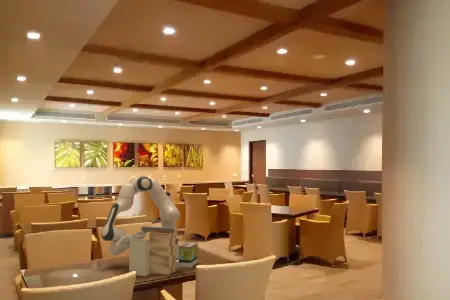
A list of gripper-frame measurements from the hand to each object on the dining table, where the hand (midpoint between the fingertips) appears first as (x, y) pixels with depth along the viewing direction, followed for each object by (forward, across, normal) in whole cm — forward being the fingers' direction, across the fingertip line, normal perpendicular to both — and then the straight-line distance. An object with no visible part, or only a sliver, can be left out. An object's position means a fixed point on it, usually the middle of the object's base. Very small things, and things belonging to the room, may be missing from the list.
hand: (143, 231), depth 273 cm
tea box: (+6, +23, +34) cm, 41 cm away
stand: (0, 0, +30) cm, 30 cm away
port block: (-10, -11, +24) cm, 28 cm away
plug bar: (+9, 0, +5) cm, 11 cm away
